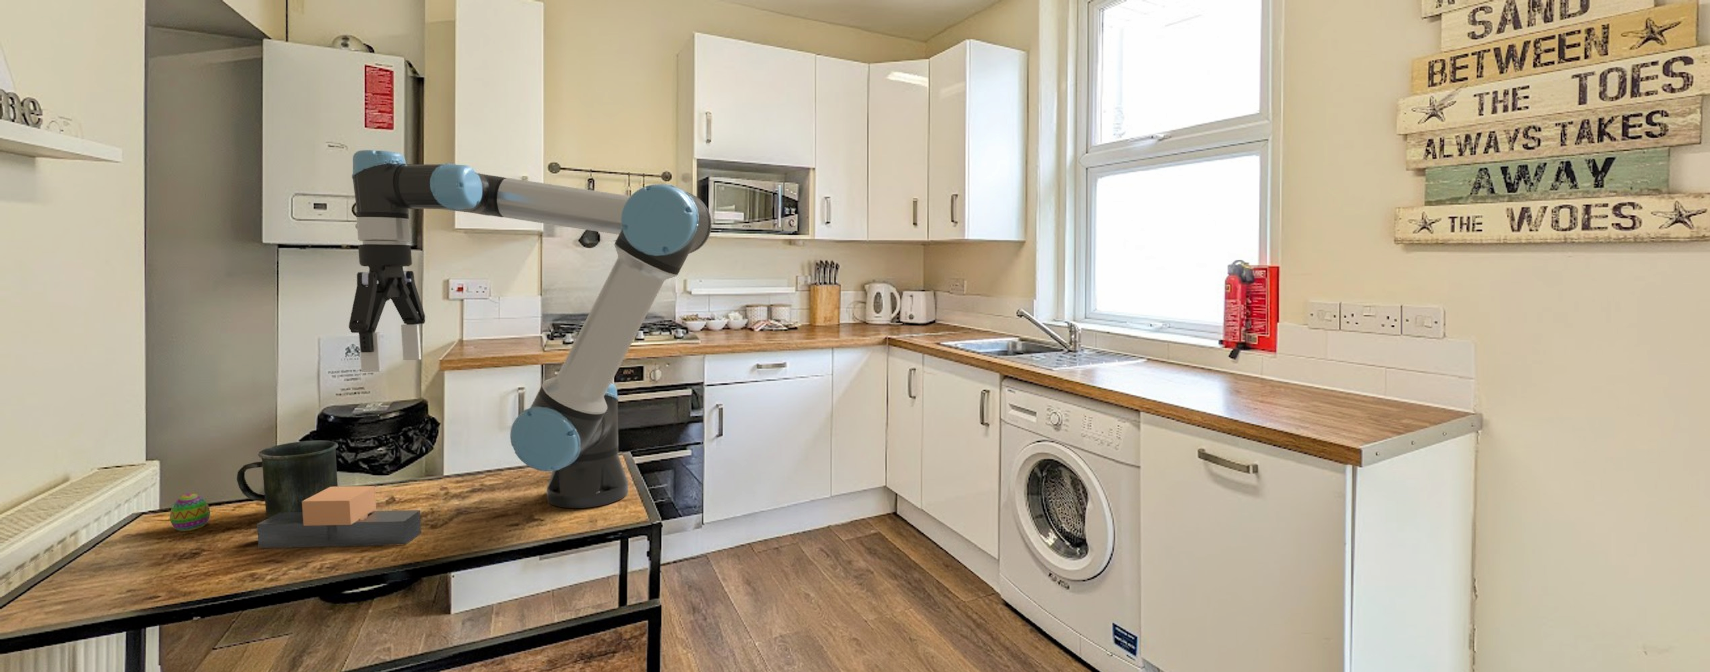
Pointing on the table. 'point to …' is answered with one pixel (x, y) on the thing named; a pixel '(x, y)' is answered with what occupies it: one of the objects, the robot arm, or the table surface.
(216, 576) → the table surface
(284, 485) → the mug
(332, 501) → the tan block with tab
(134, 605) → the table surface
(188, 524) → the egg
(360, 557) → the table surface
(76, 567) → the table surface
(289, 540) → the rail
